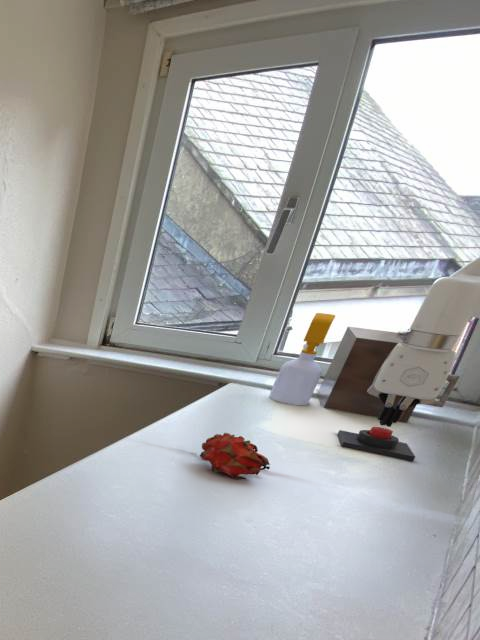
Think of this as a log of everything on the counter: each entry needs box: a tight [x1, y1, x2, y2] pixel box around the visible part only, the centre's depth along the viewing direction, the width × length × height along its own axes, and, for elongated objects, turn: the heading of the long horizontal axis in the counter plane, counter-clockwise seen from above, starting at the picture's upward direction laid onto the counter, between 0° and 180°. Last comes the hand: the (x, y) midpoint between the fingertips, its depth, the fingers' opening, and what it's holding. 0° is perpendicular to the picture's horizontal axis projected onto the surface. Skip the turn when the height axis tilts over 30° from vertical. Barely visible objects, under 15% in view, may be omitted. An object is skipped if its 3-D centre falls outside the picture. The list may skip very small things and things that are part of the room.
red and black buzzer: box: [336, 429, 416, 463], centre depth 123 cm, size 12×10×4 cm
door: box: [401, 373, 461, 424], centre depth 144 cm, size 6×22×20 cm, turn 144°
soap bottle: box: [268, 312, 336, 406], centre depth 149 cm, size 9×9×25 cm
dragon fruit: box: [199, 432, 271, 481], centre depth 107 cm, size 8×8×12 cm
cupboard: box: [316, 326, 408, 423], centre depth 150 cm, size 16×22×20 cm
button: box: [369, 426, 394, 439], centre depth 122 cm, size 4×4×2 cm
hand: (384, 424), depth 121 cm, fingers closed
